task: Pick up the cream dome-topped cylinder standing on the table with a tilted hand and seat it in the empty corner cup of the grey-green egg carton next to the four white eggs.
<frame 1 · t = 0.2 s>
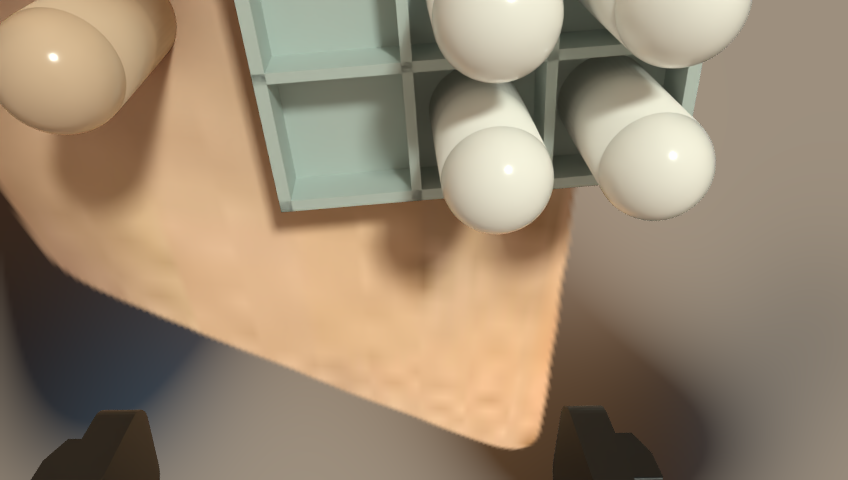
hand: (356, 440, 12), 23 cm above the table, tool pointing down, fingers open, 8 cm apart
carton: (471, 39, 31), on the table
white eggs: (471, 39, 31), resting on carton
cream dome-topped cylinder: (124, 17, 29), on the table
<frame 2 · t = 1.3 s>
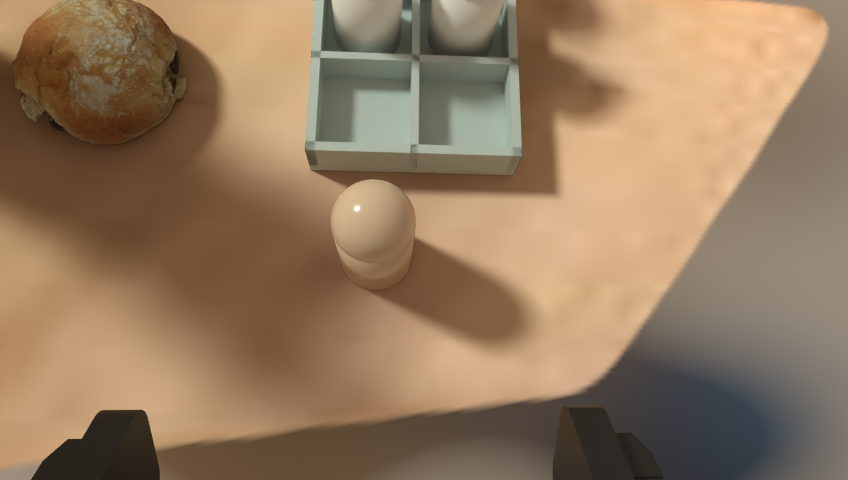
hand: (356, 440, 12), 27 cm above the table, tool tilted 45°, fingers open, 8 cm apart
bread roll: (111, 87, 44), on the table
carton: (414, 43, 46), on the table
white eggs: (414, 43, 46), resting on carton
cream dome-topped cylinder: (376, 255, 42), on the table
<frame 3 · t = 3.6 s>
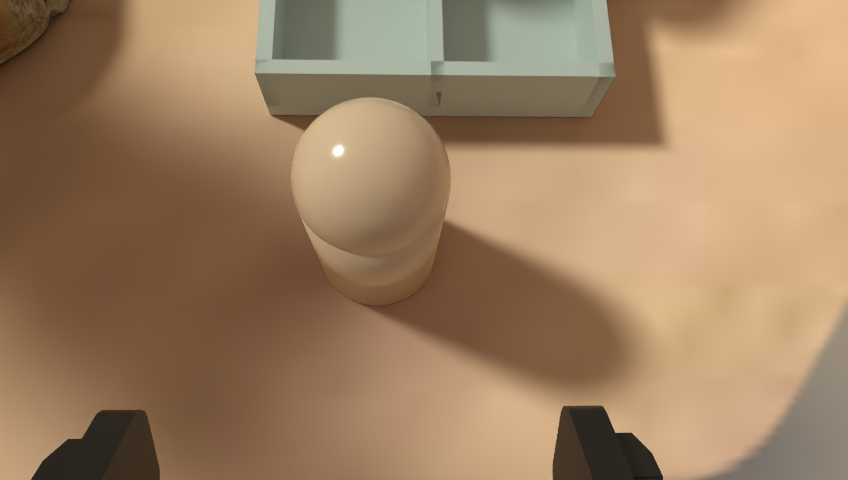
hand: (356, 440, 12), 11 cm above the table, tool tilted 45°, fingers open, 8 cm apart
cream dome-topped cylinder: (377, 248, 25), on the table
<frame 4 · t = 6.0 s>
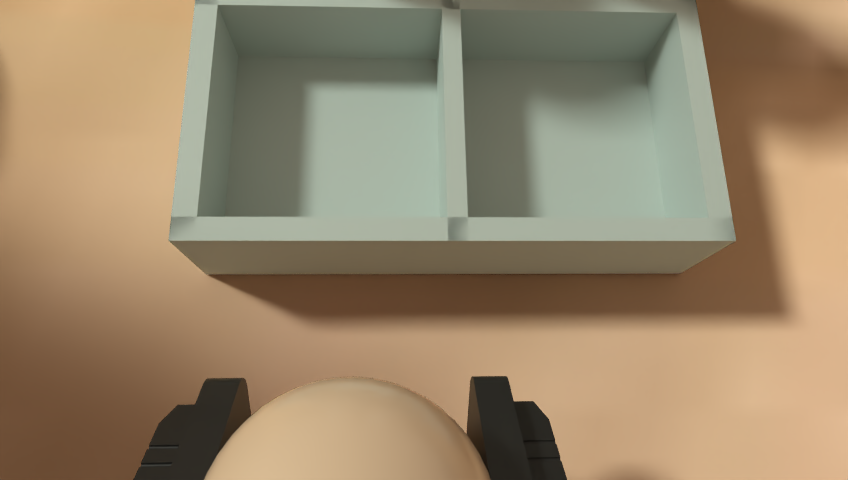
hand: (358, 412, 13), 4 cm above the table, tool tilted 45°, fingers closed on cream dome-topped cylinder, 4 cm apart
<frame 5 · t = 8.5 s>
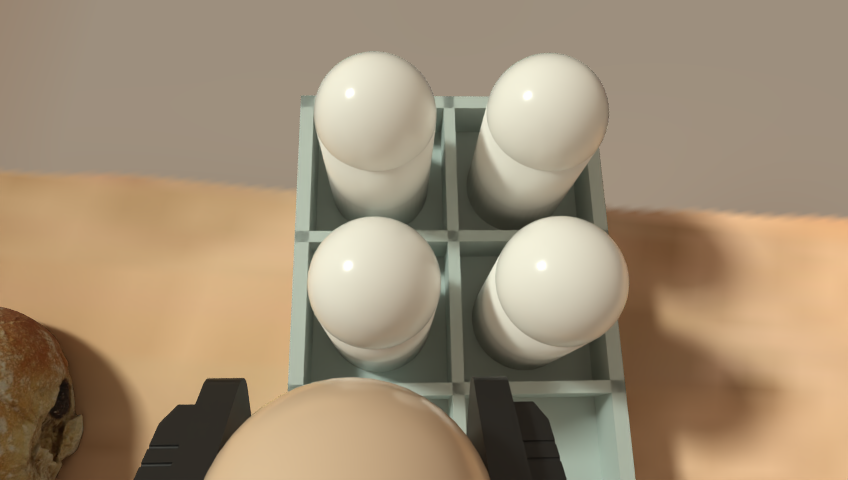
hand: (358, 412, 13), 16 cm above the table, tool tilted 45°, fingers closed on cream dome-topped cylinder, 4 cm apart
carton: (449, 323, 30), on the table
white eggs: (449, 323, 30), resting on carton
when the fingers open (6 cm above the table, at t = 10.7 s): cream dome-topped cylinder drops 1 cm, resting on carton.
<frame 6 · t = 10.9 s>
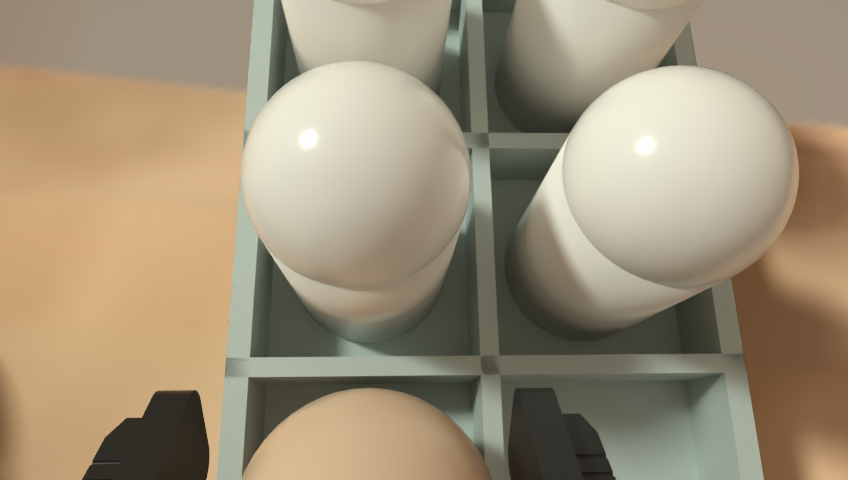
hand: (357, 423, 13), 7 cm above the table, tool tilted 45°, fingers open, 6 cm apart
carton: (471, 275, 21), on the table
white eggs: (471, 275, 21), resting on carton
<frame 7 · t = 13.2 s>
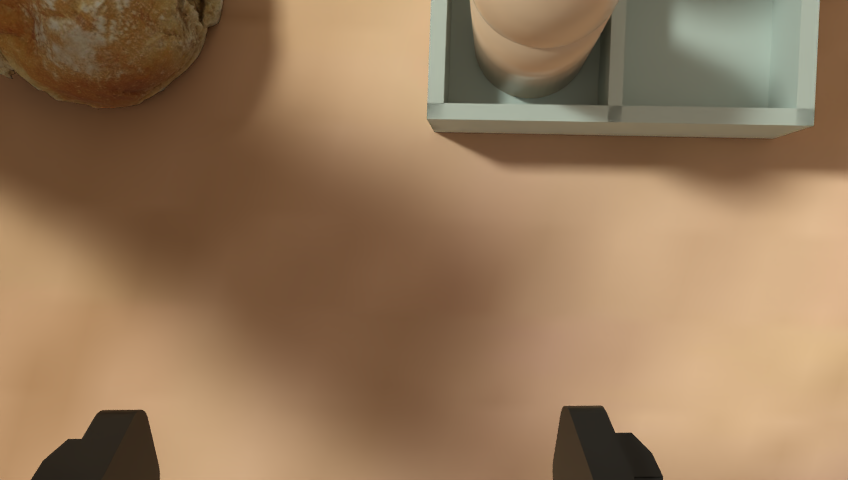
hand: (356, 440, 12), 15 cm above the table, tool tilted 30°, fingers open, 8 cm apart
bread roll: (116, 5, 29), on the table
cream dome-topped cylinder: (531, 41, 26), point 1 cm above the table, touching carton
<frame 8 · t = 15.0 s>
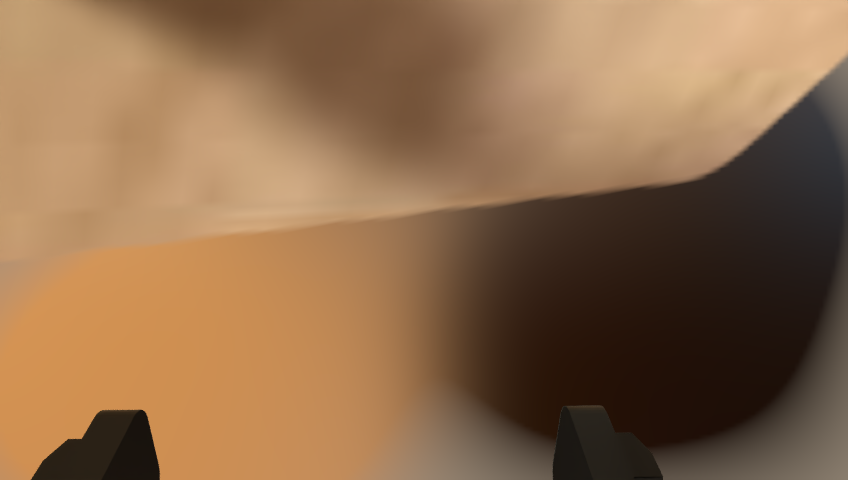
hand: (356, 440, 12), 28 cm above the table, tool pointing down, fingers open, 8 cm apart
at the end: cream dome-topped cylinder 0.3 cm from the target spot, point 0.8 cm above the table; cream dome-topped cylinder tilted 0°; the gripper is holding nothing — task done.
